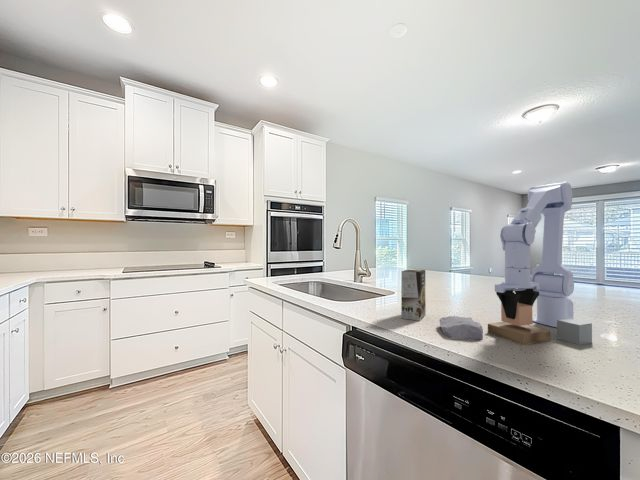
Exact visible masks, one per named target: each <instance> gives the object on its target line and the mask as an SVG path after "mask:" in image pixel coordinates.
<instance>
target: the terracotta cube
mask: <svg viewBox="0 0 640 480" xmlns="http://www.w3.org/2000/svg"><path fill="white" fill-rule="evenodd" d="M500 304H501V307H500V308H501V310H500V313H501V316H500V317H501V318H500V319H501V321H500V322H506V323H510V324H514V325H517V326H524V325H531V326H532V325H533V324H534V323H533V321H532V319H533V306H532V305H527V304H522V303H518V304H517V310H516V316H515V319H511V318H507V317H506V315H505V311H504V308H503V305H502V303H500Z"/></svg>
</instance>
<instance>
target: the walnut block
mask: <svg viewBox="0 0 640 480" xmlns="http://www.w3.org/2000/svg"><path fill="white" fill-rule="evenodd" d="M487 334H490V335H493V336H495V337H496V336H497V337H498V338H499V337H500V338H501V339H504V340H506V341H507V340H508V341H510V342H514V343H517V344H519V345H522V346H527V345H531V344H536V343H537V344H538V343H544V342H551V330H550V329H546V328H543V327H542V328H541V327H538V326H535V325H532V324H531V325H524V326H517V325H514V324H510V323H506V322H503V321H499V322H490V323H487Z"/></svg>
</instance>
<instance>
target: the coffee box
mask: <svg viewBox="0 0 640 480" xmlns="http://www.w3.org/2000/svg"><path fill="white" fill-rule="evenodd" d="M400 288H401V295H400V297H401V299H400V300H401V302H400V303H401V309H400V310H401V315H400V316H401V319H405V320H409V321H410V320H411V321H417V322H419V321H422V319H423V318H424V317H425V316H426V312H427V311H426V310H427V309H426V307H427V306H426V305H427V304H426V303H427V302H426V270H425V269H405V270H401V287H400Z"/></svg>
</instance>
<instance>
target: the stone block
mask: <svg viewBox="0 0 640 480" xmlns="http://www.w3.org/2000/svg"><path fill="white" fill-rule="evenodd" d="M439 325H440V328H441V330H442V333H443V334H444V335H446V336H447V337H449V338H452V339H460V340H462V339H463V340H469V339H471V340H483V338H484V335H483V334H484V332H483V331H484V328H483V326H482V324H481V323H480V322H478V321H475V320H473V318H472V317H470V316H469V317H465V316H458V315H448V316H446V317H440V318H439Z"/></svg>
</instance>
